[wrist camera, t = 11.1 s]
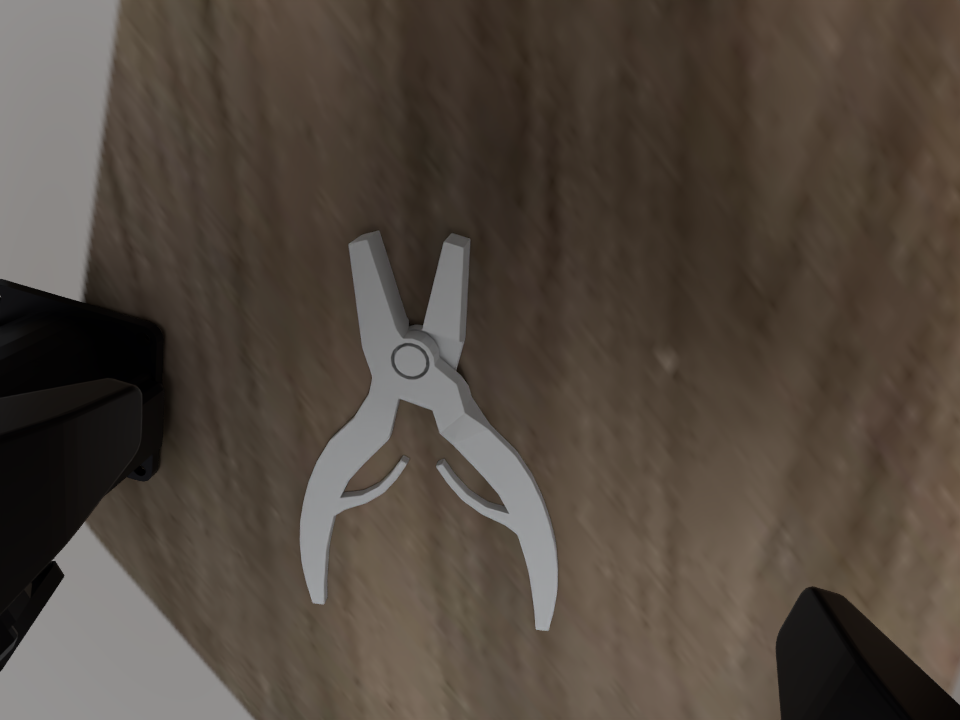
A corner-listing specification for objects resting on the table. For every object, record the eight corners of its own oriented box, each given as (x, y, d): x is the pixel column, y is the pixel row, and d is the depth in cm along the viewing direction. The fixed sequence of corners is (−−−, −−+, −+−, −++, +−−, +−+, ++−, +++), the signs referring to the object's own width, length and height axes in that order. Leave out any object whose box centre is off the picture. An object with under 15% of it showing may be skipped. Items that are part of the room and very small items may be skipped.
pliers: (298, 618, 27) (245, 235, 21) (313, 589, 28) (268, 223, 22) (553, 649, 25) (575, 247, 19) (556, 618, 27) (577, 234, 21)
